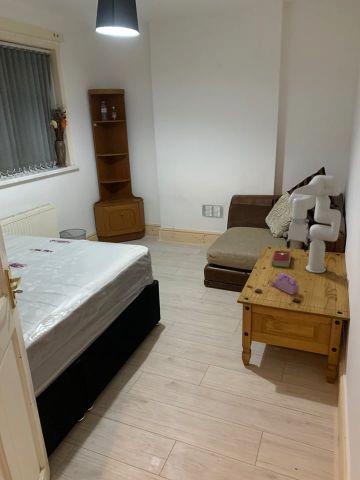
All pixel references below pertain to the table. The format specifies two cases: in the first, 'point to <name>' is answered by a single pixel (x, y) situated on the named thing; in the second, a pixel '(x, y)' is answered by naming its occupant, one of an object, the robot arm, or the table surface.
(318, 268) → the robot arm
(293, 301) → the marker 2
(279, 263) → the hardcover book
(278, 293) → the table surface
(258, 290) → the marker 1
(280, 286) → the toy telephone
